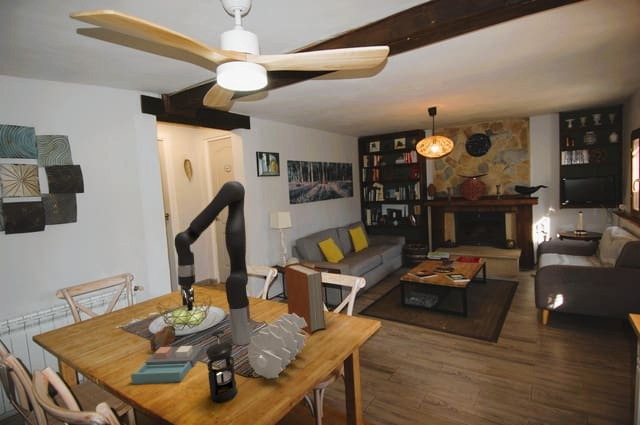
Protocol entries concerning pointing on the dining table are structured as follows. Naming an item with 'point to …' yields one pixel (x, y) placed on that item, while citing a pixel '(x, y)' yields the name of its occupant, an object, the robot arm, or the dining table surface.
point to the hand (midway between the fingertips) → (187, 307)
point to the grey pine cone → (276, 345)
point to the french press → (221, 371)
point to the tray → (160, 373)
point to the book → (305, 295)
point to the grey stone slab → (172, 358)
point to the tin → (162, 338)
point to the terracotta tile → (163, 352)
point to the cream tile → (184, 351)
